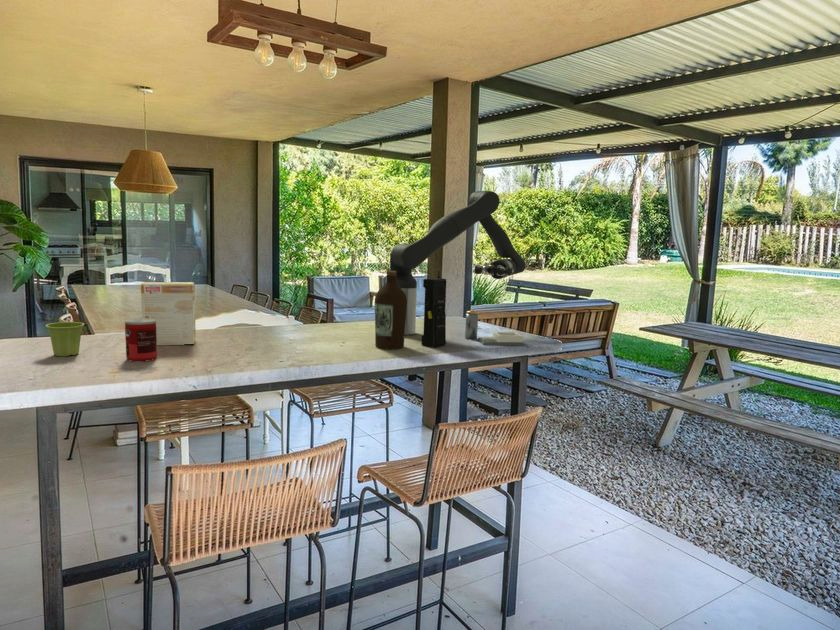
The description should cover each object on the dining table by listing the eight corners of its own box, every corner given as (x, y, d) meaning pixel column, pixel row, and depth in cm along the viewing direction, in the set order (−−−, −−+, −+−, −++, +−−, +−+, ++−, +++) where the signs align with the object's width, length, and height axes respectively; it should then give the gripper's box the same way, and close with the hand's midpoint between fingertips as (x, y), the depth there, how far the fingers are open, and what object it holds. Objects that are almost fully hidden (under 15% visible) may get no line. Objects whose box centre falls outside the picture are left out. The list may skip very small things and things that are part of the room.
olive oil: (385, 342, 202) (387, 269, 198) (411, 346, 196) (414, 271, 193) (367, 347, 193) (368, 270, 190) (393, 351, 188) (395, 272, 184)
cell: (466, 339, 213) (467, 310, 211) (463, 337, 217) (465, 308, 216) (478, 339, 213) (479, 310, 212) (475, 337, 218) (477, 309, 216)
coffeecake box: (196, 341, 194) (195, 281, 191) (193, 345, 187) (192, 283, 184) (146, 341, 190) (144, 281, 187) (142, 346, 183) (140, 283, 180)
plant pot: (90, 351, 173) (89, 321, 172) (78, 358, 164) (76, 327, 163) (56, 351, 172) (54, 321, 170) (41, 358, 162) (39, 327, 161)
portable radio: (433, 348, 195) (436, 272, 191) (418, 345, 198) (421, 271, 195) (446, 345, 201) (449, 271, 197) (432, 342, 204) (435, 270, 201)
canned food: (134, 355, 169) (133, 317, 168) (162, 356, 169) (161, 318, 168) (120, 361, 162) (119, 321, 160) (149, 362, 162) (148, 322, 160)
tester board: (483, 344, 204) (484, 335, 203) (478, 340, 212) (478, 331, 212) (523, 345, 205) (523, 336, 205) (515, 340, 214) (516, 331, 214)
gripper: (484, 258, 237) (470, 260, 222) (519, 260, 231) (507, 262, 217) (483, 277, 238) (470, 280, 224) (518, 279, 232) (506, 282, 218)
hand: (488, 271), depth 220 cm, fingers open, 8 cm apart
